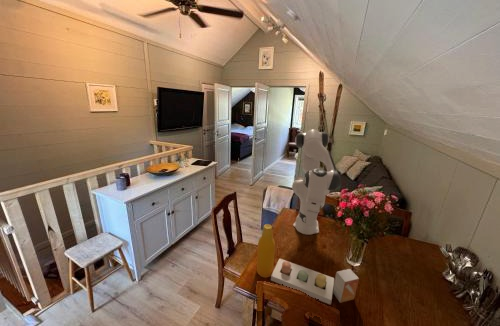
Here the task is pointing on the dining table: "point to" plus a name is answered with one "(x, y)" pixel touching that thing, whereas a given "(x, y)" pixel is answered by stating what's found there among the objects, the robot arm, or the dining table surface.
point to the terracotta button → (286, 268)
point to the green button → (302, 276)
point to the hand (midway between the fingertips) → (312, 224)
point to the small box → (345, 285)
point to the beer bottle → (266, 252)
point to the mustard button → (320, 281)
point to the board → (303, 286)
